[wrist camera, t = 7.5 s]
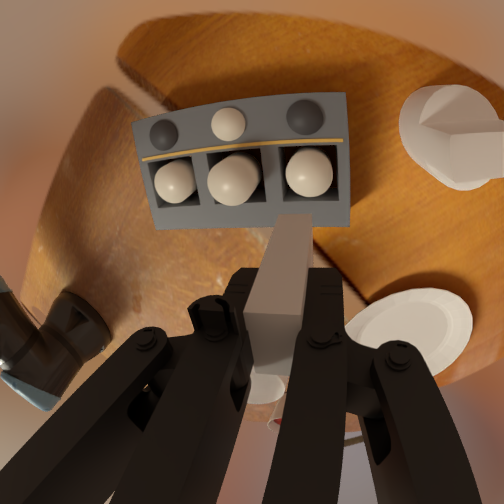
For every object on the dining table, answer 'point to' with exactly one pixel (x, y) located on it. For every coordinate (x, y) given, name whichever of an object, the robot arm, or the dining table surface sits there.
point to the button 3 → (309, 171)
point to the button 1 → (176, 180)
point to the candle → (277, 415)
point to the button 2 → (234, 178)
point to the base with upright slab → (453, 135)
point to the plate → (417, 324)
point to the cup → (266, 387)
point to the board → (247, 137)
